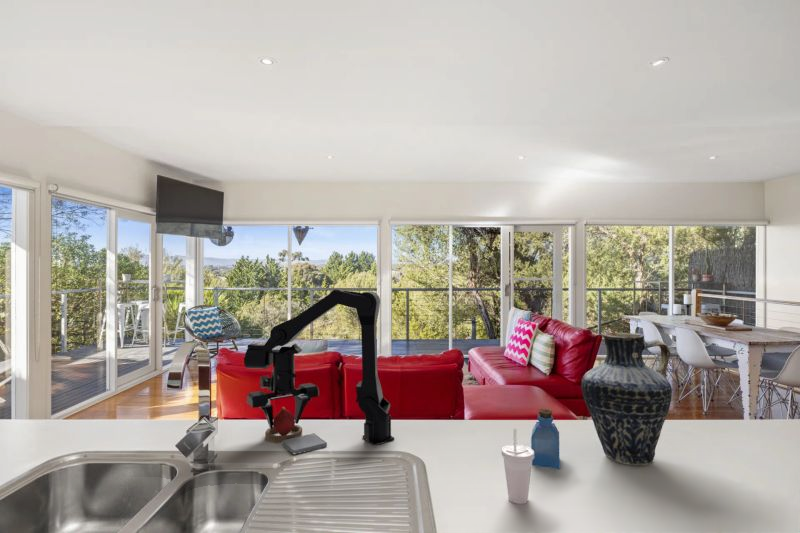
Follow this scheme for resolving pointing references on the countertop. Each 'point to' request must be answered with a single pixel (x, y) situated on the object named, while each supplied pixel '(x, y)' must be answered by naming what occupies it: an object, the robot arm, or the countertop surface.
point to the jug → (628, 398)
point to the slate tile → (304, 443)
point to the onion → (283, 422)
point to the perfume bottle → (545, 441)
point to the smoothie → (517, 470)
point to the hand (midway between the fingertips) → (284, 425)
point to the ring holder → (280, 438)
